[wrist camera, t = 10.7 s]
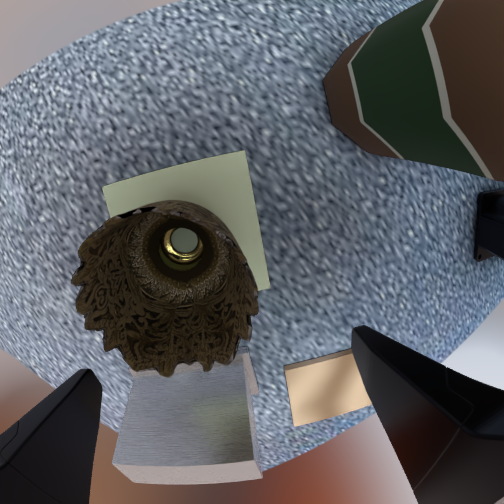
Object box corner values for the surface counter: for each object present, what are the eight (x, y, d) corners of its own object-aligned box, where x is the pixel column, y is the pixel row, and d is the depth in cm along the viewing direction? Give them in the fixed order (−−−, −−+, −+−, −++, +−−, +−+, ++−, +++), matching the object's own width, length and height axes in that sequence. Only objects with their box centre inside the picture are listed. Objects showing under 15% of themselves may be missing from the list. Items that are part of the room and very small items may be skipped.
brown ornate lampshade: (142, 297, 19) (107, 380, 11) (116, 191, 16) (47, 230, 9) (250, 285, 19) (266, 371, 12) (237, 172, 16) (248, 196, 9)
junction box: (247, 346, 22) (261, 455, 13) (258, 386, 24) (273, 483, 14) (130, 362, 22) (101, 459, 12) (152, 400, 23) (137, 489, 14)
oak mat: (382, 338, 23) (384, 342, 22) (373, 399, 26) (375, 402, 26) (283, 365, 23) (285, 370, 22) (293, 422, 26) (294, 426, 26)
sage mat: (244, 150, 17) (244, 150, 16) (269, 283, 20) (270, 288, 19) (105, 185, 16) (101, 187, 16) (145, 307, 20) (144, 311, 19)
